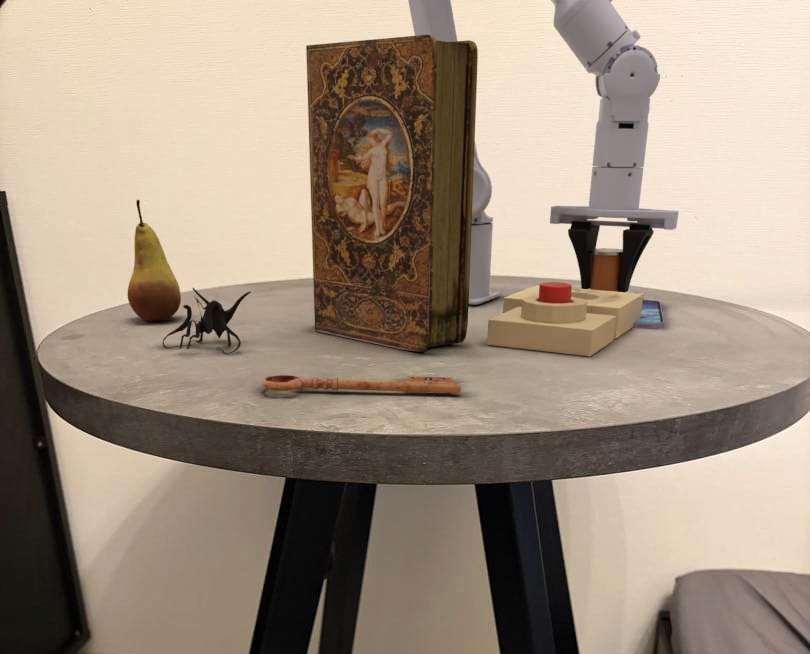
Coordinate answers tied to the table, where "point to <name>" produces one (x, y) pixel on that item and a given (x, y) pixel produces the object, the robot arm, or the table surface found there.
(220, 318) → the creature
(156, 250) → the fruit
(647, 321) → the smartphone
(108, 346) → the table surface
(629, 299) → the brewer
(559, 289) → the button
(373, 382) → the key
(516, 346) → the panel
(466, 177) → the book
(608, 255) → the cylinder
